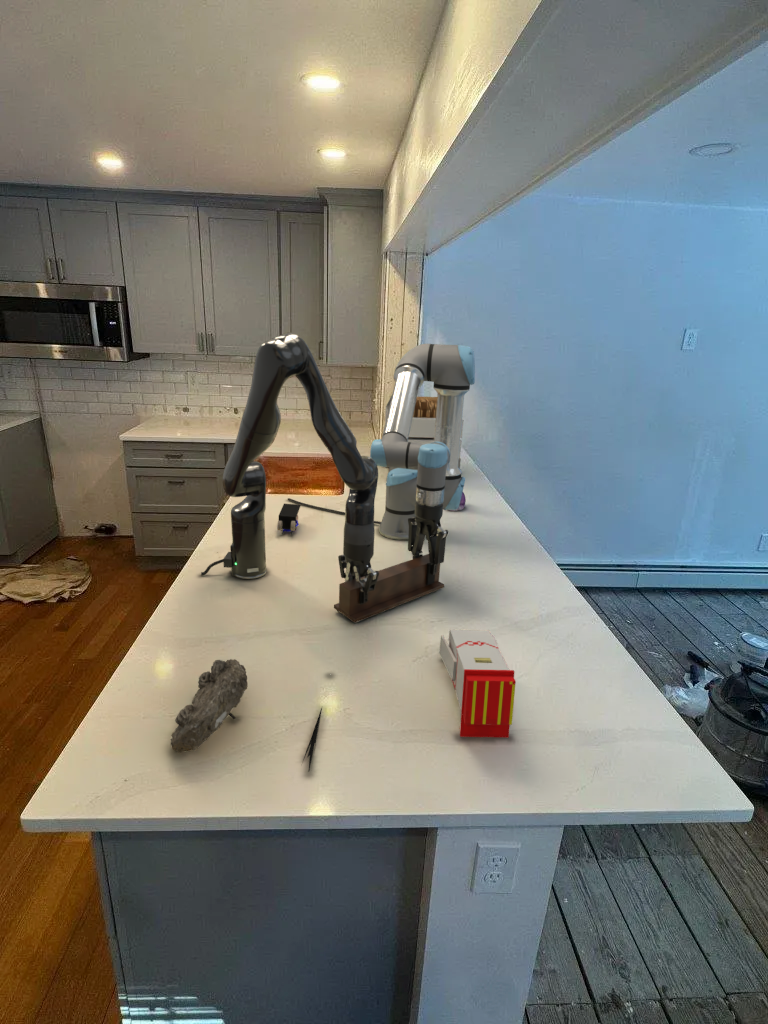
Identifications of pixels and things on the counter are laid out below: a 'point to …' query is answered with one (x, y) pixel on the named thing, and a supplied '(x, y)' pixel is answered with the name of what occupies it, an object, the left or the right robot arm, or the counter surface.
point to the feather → (313, 740)
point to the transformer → (424, 422)
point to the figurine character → (288, 518)
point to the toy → (479, 682)
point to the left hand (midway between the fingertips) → (356, 599)
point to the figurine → (461, 503)
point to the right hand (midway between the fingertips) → (423, 579)
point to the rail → (388, 589)
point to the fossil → (210, 704)
